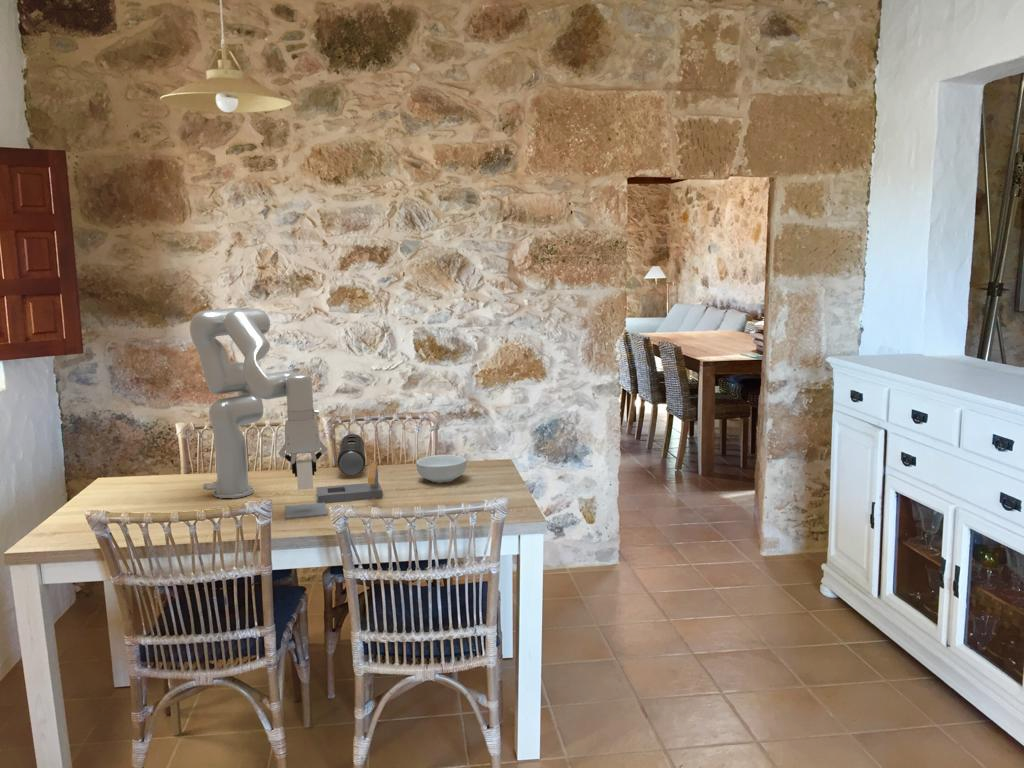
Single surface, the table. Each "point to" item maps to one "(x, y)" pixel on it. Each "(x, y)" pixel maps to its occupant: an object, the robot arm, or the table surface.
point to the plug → (304, 474)
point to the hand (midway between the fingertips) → (304, 474)
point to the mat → (305, 510)
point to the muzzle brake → (351, 455)
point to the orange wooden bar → (372, 472)
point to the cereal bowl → (441, 467)
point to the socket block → (349, 492)
